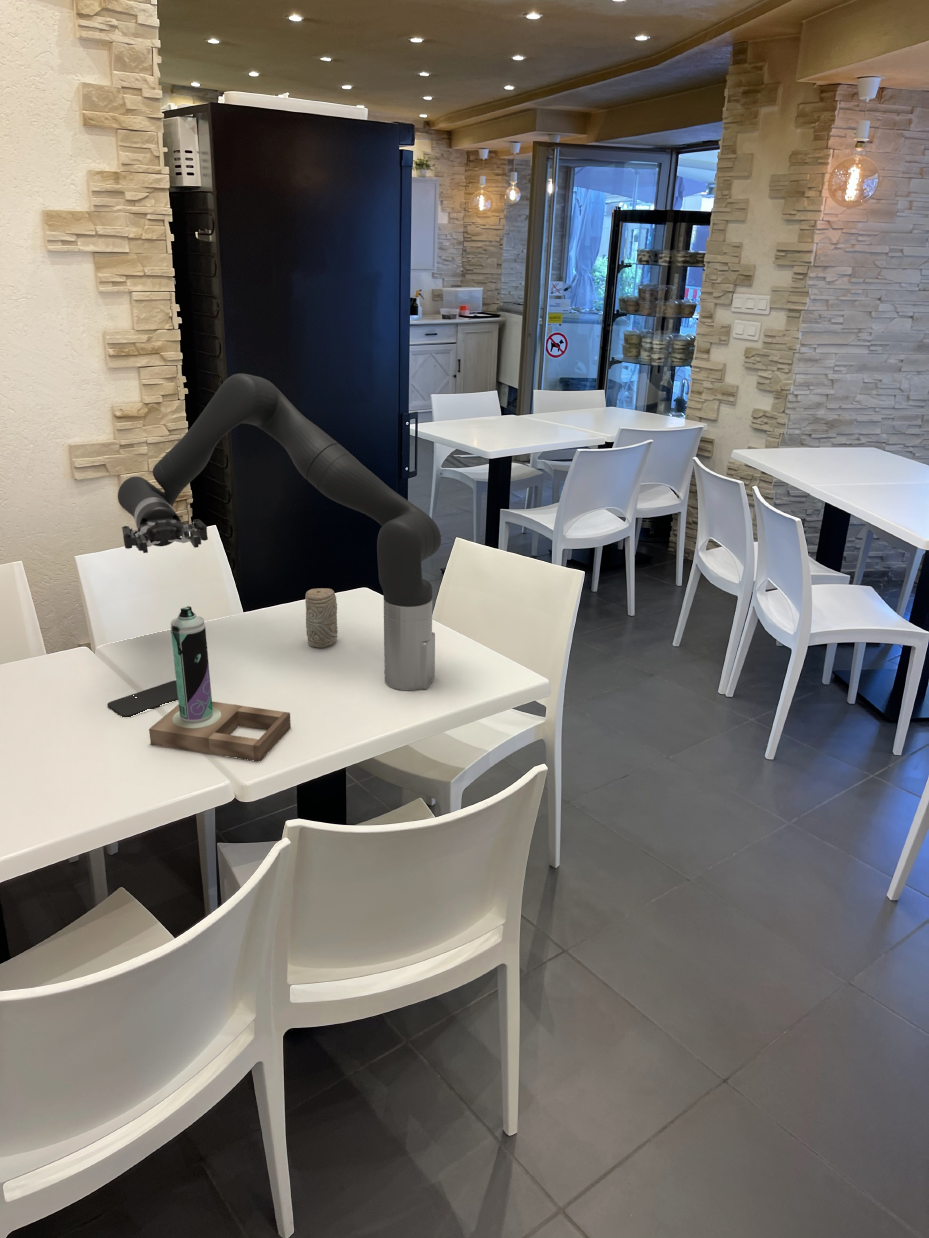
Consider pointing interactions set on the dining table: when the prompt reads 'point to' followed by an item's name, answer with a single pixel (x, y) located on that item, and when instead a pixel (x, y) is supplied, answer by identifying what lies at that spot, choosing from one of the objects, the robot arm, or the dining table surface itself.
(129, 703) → the phone
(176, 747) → the walnut tray
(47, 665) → the dining table surface
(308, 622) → the carving
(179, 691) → the spray can
